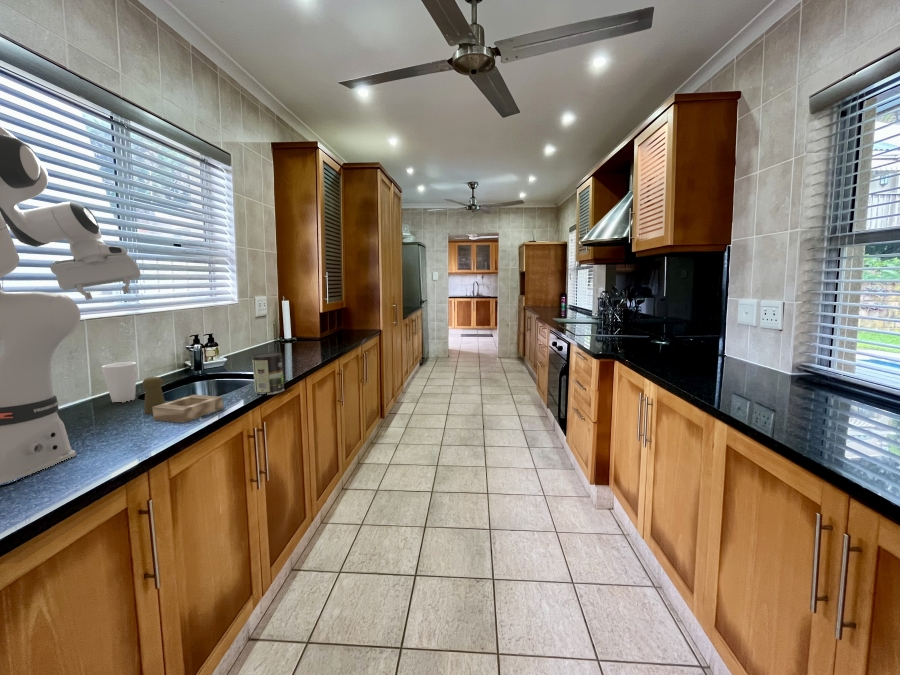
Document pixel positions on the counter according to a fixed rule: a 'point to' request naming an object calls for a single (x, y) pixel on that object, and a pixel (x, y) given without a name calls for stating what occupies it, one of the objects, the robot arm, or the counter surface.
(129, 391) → the foam cup
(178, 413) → the block
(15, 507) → the counter surface
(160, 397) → the cork
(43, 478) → the counter surface
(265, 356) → the coffee can
